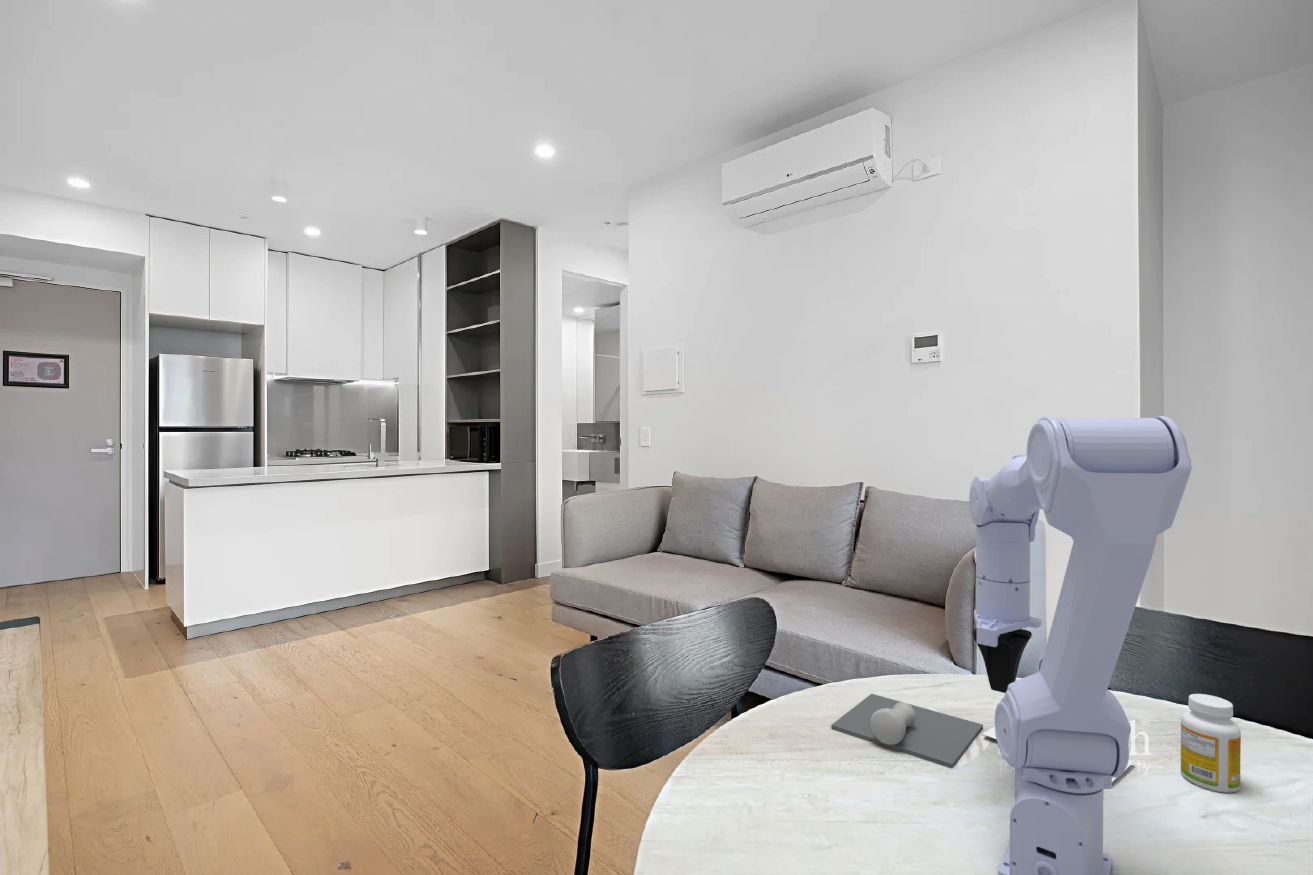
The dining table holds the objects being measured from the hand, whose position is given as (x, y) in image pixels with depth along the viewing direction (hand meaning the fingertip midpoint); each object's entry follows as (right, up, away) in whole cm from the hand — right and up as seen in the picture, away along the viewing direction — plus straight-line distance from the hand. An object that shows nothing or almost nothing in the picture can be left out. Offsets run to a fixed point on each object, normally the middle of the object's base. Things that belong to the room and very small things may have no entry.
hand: (1001, 690), depth 77 cm
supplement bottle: (+24, -11, -1) cm, 26 cm away
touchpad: (+10, -11, +6) cm, 16 cm away
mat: (-7, -10, +12) cm, 17 cm away
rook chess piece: (-12, -8, +6) cm, 15 cm away
